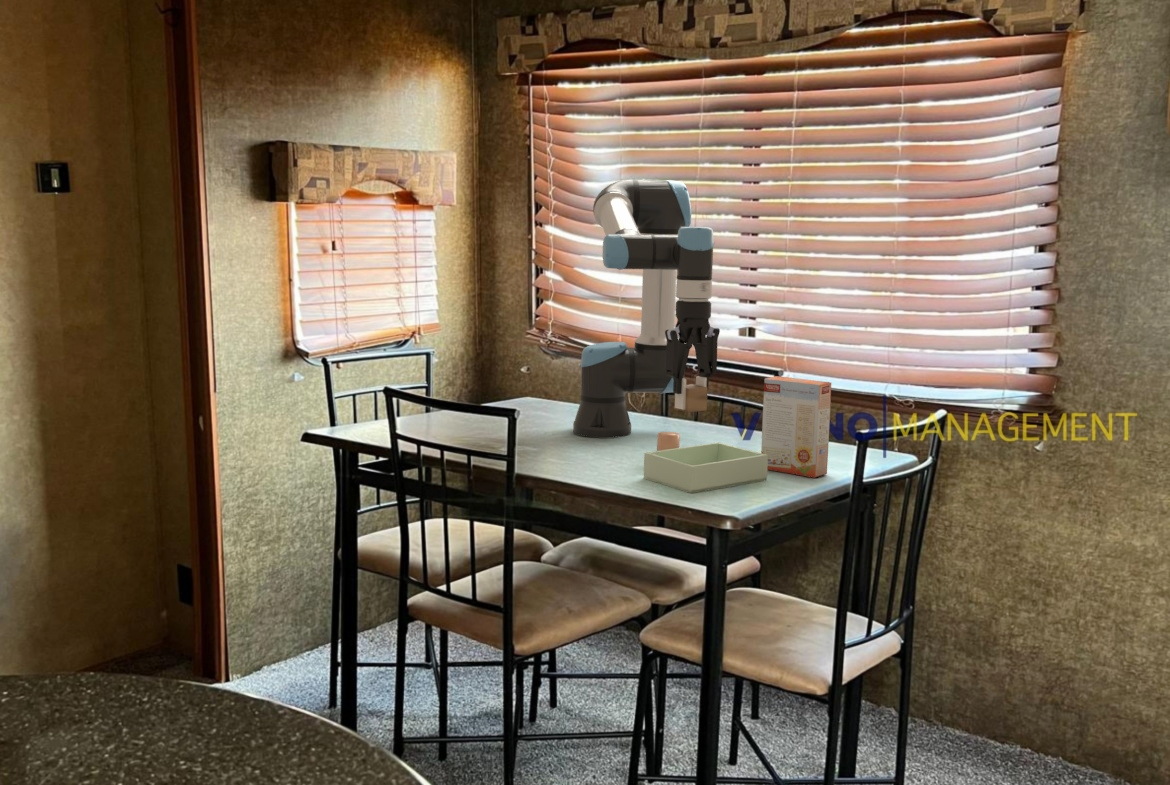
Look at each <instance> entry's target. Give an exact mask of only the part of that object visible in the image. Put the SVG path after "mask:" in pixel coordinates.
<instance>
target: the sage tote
mask: <svg viewBox="0 0 1170 785" xmlns="http://www.w3.org/2000/svg"><path fill="white" fill-rule="evenodd" d="M643 454H644V455H643V457H644V458H643V479H645V480H648V481H650V482H654V483H658V484H660V485H664V486H667V487H670V488H673V489H676V490H680V491H682V492H686V493H689V494H695V493H702V492H703V493H704V492H710V491H713V490H720V489H724V487H726V488H730V487H729V486H732V487H736V485H737V486H741V485H748V484H753V483H754V482H755V483H759V482H760V483H761V482H764V480H765V482H766V481H768V470H767V465H768V455H766V454H762V453H761V452H758V451H753V450H750V449H747V448H742V447H739V446H734V445H730V444H727V443H723V442H713V443H705V444H697V445H691V446H690V445H689V446H684V447H682V446H681V447H679V448H675V449H668V450H661V451H657V450H654V451H649V452H648V451H647V452H643ZM755 483H754V484H755ZM719 488H720V489H719Z"/></svg>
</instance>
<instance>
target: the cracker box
mask: <svg viewBox="0 0 1170 785" xmlns="http://www.w3.org/2000/svg"><path fill="white" fill-rule="evenodd" d="M763 380H764V384H763V405H762V407H763V408H762V425H761V426H762V427H761V429H762V430H761V448H760V449H761V450H760V453H762V454H766V455H768V465H767V471H775V472H780V473H785V474H790V475H795V474H796V475H795V476H801V477H807V478H811V477H812V479H815V478H817V477H821V476H825V475H827V474H828V463H829V462H828V461H829V460H828V458H829V457H828V456H829V440H830V438H829V437H830V419H831V402H832V401H831V399H832V382H829V381H823V380H822V381H821V380H814V379H808V378H807V379H805V378H798V377H796V378H795V377H787V376H776V375H775V376H770V377H765V378H764V379H763Z"/></svg>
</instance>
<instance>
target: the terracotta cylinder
mask: <svg viewBox="0 0 1170 785" xmlns="http://www.w3.org/2000/svg"><path fill="white" fill-rule="evenodd" d="M680 435H681V434H680V433H679V432H675V431H660V432H657V448H656V449H657V450H656V451H661V450H668V449H675V448H680V443H681V442H680V441H681V440H680V438H681V436H680Z"/></svg>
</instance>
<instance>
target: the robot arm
mask: <svg viewBox="0 0 1170 785" xmlns="http://www.w3.org/2000/svg"><path fill="white" fill-rule="evenodd" d="M690 198H691V197H690V194H689V191H688V188H687V186H686V184H684V182H682V181H678V180H668V179H665V180H663V179H662V180H657V179H622V180H618V181H615V182H613V183H610V184H609V185H607V186H606V187H604V188H603V189H602V190H601V191H600V192H599V193H598V194H597V195H596V197H595V199H594V202H593V206H592V208H593V211H592V213H593V216H594V219H595V221H596V223H597V225H599V226H600V227H601V228H602V229H603V232H604V235H605V236H604V238H603V242H602V262H603V263H602V264H603V266H604V267H605V268H606V269H614V270H618V271H621V270H642V283H641V284H642V286H641V287H642V288H641V292H642V293H641V323H640V334H639V336H638V337H636V339H635V340H634V347H628V345H627V343H626V342H625V341H607V342H599V343H594V344H590V345H588V346H586V347H584V348H583V349H582V352H581V358H580V360H581V361H580V368H581V369H580V401H579V406H578V408H577V412H576V415H575V418H574V420H573V422H572V423H573V426H572V432H573V434H574V435H575V434H576V435H578V436H582V437H589V438H599V439H601V438H605V439H607V438H620V437H626V436H629V435H631V434H632V422H631V420H630V416H629V412H628V408H627V405H626V394H627V393H628V394H629V393H633V394H636V393H637V394H641V393H643V394H644V393H645V394H646V393H649V394H650V393H654V394H655V393H657V394H660V395H661V394H666V393H669V394H670V393H673V394H675V408H678V409H682V410H685V402H686V385H687V379H686V378H684V377H685V371H686V367H687V363H688V360H689V353H690V350H691V349H692V348H693V347H694V351H695V357H696V364H697V365H696V366H697V369H698V374H699V375H696V377H695V385H699V386H704V387H707V392H708V391H709V383H710V379H709V378H712V377H713V374H717V370H718V369H717V368H718V339H719V335H720V333H721V332H720V331H721V330H720V328H718V327H713V326H711V324H710V322H709V320H710V319H711V317H712V303H711V301H709V300H710V299H711V298H712V291H713V290H712V289H713V266H714V265H713V262H714V260H713V259H714V247H715V242H714V230H713V228H712V227H707V226H706V227H705V226H704V227H703V226H691V223H692V207H691V199H690ZM676 298H677V299H678V300H676ZM675 317H676V320H677V321H676V320H675ZM675 322H676V323H675ZM678 409H677V410H678ZM682 410H681V411H682Z"/></svg>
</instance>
